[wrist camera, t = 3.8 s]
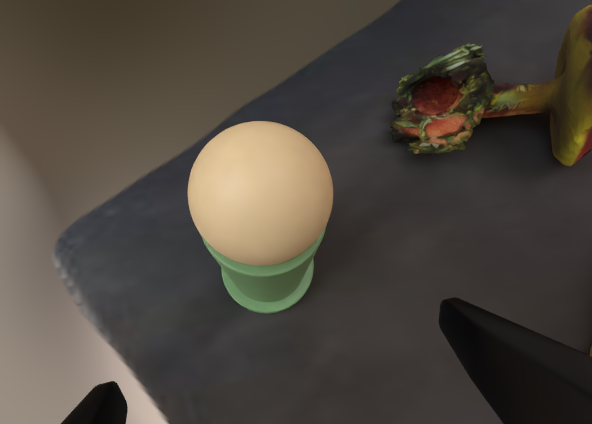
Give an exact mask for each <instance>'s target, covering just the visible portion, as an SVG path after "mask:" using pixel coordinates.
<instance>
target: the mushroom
mask: <svg viewBox="0 0 592 424" xmlns="http://www.w3.org/2000/svg"><path fill="white" fill-rule="evenodd" d="M481 46H482V45H481ZM481 46H480V47H478V46H476V45H475V44H473V45H471V46H470V43H469V44H467V45H463V46H460V47H458V48H457V49H455V50H453V51H452V52H451V53H450V54H448V55H446V56H440V55H439V56H438V57H437V58H436V59H432V60H431V63H430V64H429V65H428V66H423V67H422V68H421V69H420V68H419V70H420V71H419V70H418V71H417V73H416V74H410V75H407V76H405V77H402V80H401V81H399V87H398V89H397V92H398V95H399V96H400V98H399V99H398V100H394V101H392V107H393V109H394V111H395V113H396V114H397V116H401V117H400V118H398V119H395V120H393V121H392V122H391V123H390V124H391V127H393V128H395V129H393V132H390V134H391V135H392V139H393V140H394V141H395V142H404V141H407V143H408V144H410V148H408V149H407V150H405V151H408V150H413V152H414V154H417V153H428V154H430V155H431V154H432V153H434V152H435V153H437V154H438V153H439V154H440V153H445V152H450V151H452V150H459V149H461V150H465V146H464V144H463V140H464V141H467V142H468V138H470V137H471V136H470V135H471V134H472V132H473V130H472V129H473V128H474V127H475V126H476V125H477V124H479V125H480V121H481V118H491V117H501V116H512V115H518V114H535V113H547V112H551V117H550V133H551V141H552V150H553V155H554V156H555V157H556V158H557V159H558V160H559V161H560V162H561V163H562V164H563V165H567V166H572V165H573V164H574V163H576V162H577V161H578V160H579V159H580V158H581V157H583V156H584V155H586V154H587V153H588V152H589V151H591V149H592V6H591V5H589V6H587V7H585V8H584V9H582V10H581V11H579V12H578V13H577V14H576V15H575V16H574V18H573V19H572V21H571V22H570V24H569V26H568V28H567V31H566V33H565V37H564V40H563V43H562V46H561V49H560V51H559V55H558V61H557V66H556V72H555V80H552V81H549V82H546V83H541V84H519V85H509V84H494V80H492V79H491V77H490V74H489V73H488V71H487V67H486V64H485V63H484V62H483V59H484V58H485V57H486V56H484V57H480V56H481V55H483V54H485V53H483V52H482V49H480V48H481Z"/></svg>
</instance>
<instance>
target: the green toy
mask: <svg viewBox="0 0 592 424" xmlns="http://www.w3.org/2000/svg"><path fill="white" fill-rule="evenodd" d="M188 202H189V208H190V212H191V216H192V218H193V221H194V223H195V225H196V227H197V229H198V231H199V232H200V234H201V236H202V239H203V241H204V243H205V245H206V247H207V248H208V250H209V251H210V253H211V254H212V255H213V257H214V258H215V259H216V260H217V262H218V263H219V264H220V266H221V271H222V278H223V282H224V284H225V287H226V289H227V291H228V292H229V294H230V295H231V296H232V298H233V299H234V300H235V301H236V302H238V303H239V304H240V305H241V306H243V307H244V308H246V309H248V310H250V311H253V312H257V313H263V314H271V313H277V312H281V311H284V310H286V309H288V308H290V307H291V306H293V305H294V304H296V303H297V302H298V301H299V300H300V299H301V298H302V296H303V295H304V294H305V292H306V291H307V289H308V288H309V285H310V283H311V280H312V277H313V272H314V261H313V257H314V255H315V253H316V251H317V249H318V247H319V245H320V243H321V241H322V239H323V237H324V233H325V230H326V225H327V222H328V219H329V216H330V213H331V209H332V203H333V185H332V179H331V175H330V171H329V169H328V166H327V164H326V162H325V160H324V158H323V156H322V155H321V153H320V152H319V151H318V149H317V148H316V147H315V145H314V144H313V143H312V142H311V141H310V140H309V139H307V138H306V137H305V136H303V135H302V134H301V133H299V132H297V131H295V130H294V129H292V128H290V127H287V126H285V125H282V124H279V123H274V122H267V121H253V122H246V123H242V124H238V125H235V126H232V127H230V128H228V129H226V130H224V131H223V132H221V133H220V134H218V135H217V136H216V137H214V138H213V139H212V140H211V141H210V142H209V143H208V144H207V145H206V146H205V147H204V148H203V150H202V151H201V152H200V154H199V156H198V157H197V159H196V161H195V163H194V165H193V168H192V170H191V174H190V178H189V183H188Z"/></svg>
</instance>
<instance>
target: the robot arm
mask: <svg viewBox="0 0 592 424" xmlns="http://www.w3.org/2000/svg"><path fill="white" fill-rule="evenodd" d="M439 326H440V328H441V330H442V332H443V334H444V335H445V337H446V339H447V340H448V342H449V344H450V345H451V347H452V349H453V350H454V352H455V354H456V355H457V357H458V359H459V360H460V362H461V363H462V365H463V367H464V368H465V370H466V372H467V373H468V375H469V376H470V378H471V379H472V381H473V382H474V384H475V385H476V387H477V388H478V389H479V391H480V392H481V393H482V395H483V396H484V398H485V399H486V400H487V402H488V403H489V404H490V406H491V407H492V408H493V410H494V411H495V412H496V414H497V415H498V417H499V418H500V419H501V421H502V422H503V423H504V424H592V356H589V355H587V354H585V353H583V352H580V351H578V350H576V349H573V348H571V347H569V346H566V345H564V344H562V343H560V342H557V341H555V340H553V339H550V338H548V337H546V336H544V335H541V334H539V333H537V332H534V331H532V330H530V329H528V328H525V327H523V326H521V325H518V324H516V323H514V322H511V321H509V320H507V319H505V318H502V317H500V316H498V315H495V314H493V313H491V312H489V311H486V310H484V309H482V308H479V307H477V306H475V305H473V304H470V303H468V302H466V301H463V300H461V299H459V298H449V299H445V300H443V301H442V302H441V305H440V314H439ZM126 417H127V402H126V400H125V398H124V396H123V394H122V392H121V390H120V388H119V386H118V385H117V383H115V382H114V381H111V382H107V383H103V384H99V385H97V386H95V387H94V388H93V389H92V390H91V391H90V392H89V393H88V395H87V396H86V397H85V398H84V399H83V400H82V401H81V402H80V403H79V404H78V406H77V407H76V408H75V409H74V410H73V411H72V412H71V413H70V414H69V415H68V417H66V419H65V420H64V421H63V422H62V423H61V424H126Z"/></svg>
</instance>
